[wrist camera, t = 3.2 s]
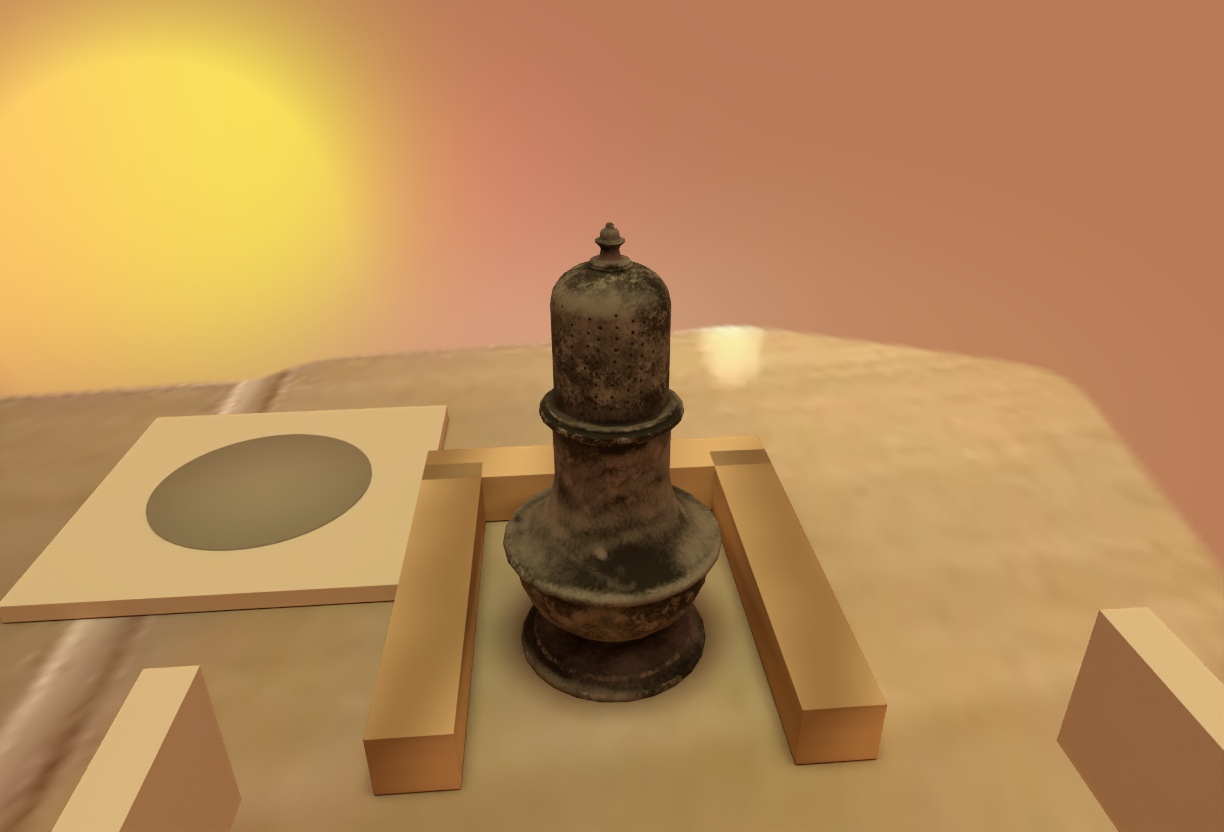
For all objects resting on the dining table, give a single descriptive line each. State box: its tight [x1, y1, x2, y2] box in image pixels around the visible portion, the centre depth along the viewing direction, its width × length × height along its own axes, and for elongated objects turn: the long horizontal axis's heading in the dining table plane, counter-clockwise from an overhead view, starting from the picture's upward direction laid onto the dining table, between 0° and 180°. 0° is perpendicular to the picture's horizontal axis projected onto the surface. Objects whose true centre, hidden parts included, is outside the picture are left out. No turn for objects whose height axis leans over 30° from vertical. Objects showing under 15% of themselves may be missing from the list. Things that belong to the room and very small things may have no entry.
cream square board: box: [0, 405, 448, 623], centre depth 31 cm, size 12×12×1 cm
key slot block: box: [363, 436, 887, 795], centre depth 26 cm, size 12×13×2 cm
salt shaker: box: [503, 223, 722, 702], centre depth 22 cm, size 6×6×12 cm
